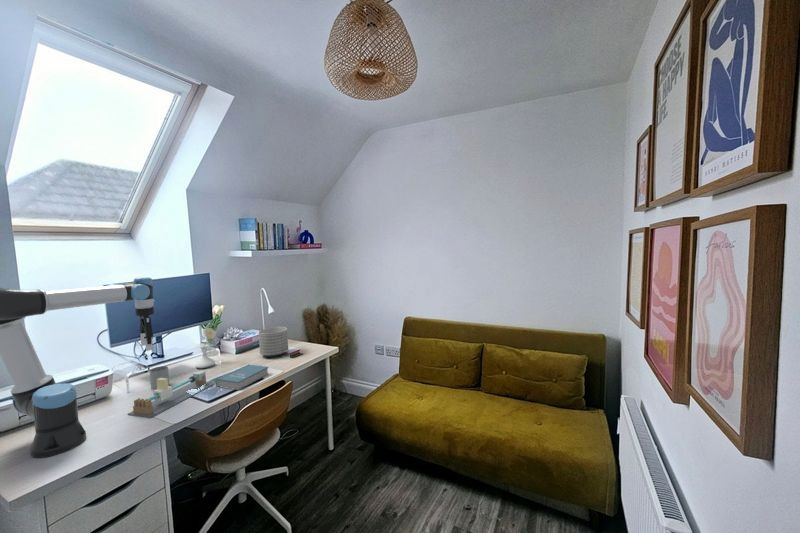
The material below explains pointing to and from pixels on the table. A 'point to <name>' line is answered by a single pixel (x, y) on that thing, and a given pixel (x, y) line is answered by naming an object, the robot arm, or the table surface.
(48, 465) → the table surface
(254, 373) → the book
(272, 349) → the planter
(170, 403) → the cord rig
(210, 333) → the flower in vase
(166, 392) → the sliding rod collar
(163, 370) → the cup
